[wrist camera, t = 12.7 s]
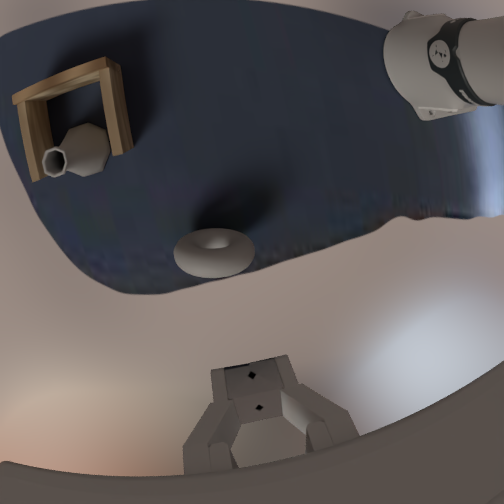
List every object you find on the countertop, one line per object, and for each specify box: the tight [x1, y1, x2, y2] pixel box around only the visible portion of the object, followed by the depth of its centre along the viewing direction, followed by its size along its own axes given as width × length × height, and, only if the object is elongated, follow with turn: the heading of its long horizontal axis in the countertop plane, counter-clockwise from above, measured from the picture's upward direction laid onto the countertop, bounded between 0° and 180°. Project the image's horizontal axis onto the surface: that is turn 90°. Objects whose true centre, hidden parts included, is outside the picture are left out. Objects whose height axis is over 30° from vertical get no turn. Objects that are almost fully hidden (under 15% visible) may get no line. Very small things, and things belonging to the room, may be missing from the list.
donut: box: [174, 228, 255, 278], centre depth 38 cm, size 10×3×10 cm, turn 89°
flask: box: [42, 123, 111, 177], centre depth 29 cm, size 7×7×10 cm
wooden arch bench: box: [12, 57, 134, 182], centre depth 29 cm, size 12×11×7 cm
